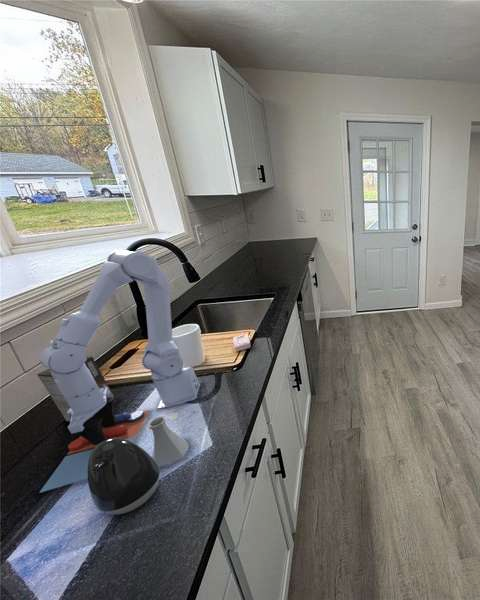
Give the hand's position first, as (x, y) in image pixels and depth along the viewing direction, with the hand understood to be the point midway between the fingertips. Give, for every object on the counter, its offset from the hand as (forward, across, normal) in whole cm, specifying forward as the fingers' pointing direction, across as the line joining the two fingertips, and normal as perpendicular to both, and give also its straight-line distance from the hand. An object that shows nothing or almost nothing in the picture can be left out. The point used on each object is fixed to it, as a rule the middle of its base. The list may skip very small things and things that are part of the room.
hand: (105, 434), depth 79 cm
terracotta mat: (+2, -2, 0) cm, 3 cm away
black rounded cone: (+2, +23, +13) cm, 26 cm away
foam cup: (+2, -31, +14) cm, 34 cm away
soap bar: (0, -36, +29) cm, 47 cm away
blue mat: (+2, +8, 0) cm, 8 cm away
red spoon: (+1, 0, -1) cm, 2 cm away
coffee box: (+2, -15, -9) cm, 18 cm away
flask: (+2, +13, +17) cm, 21 cm away
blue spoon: (+1, -6, 0) cm, 6 cm away
